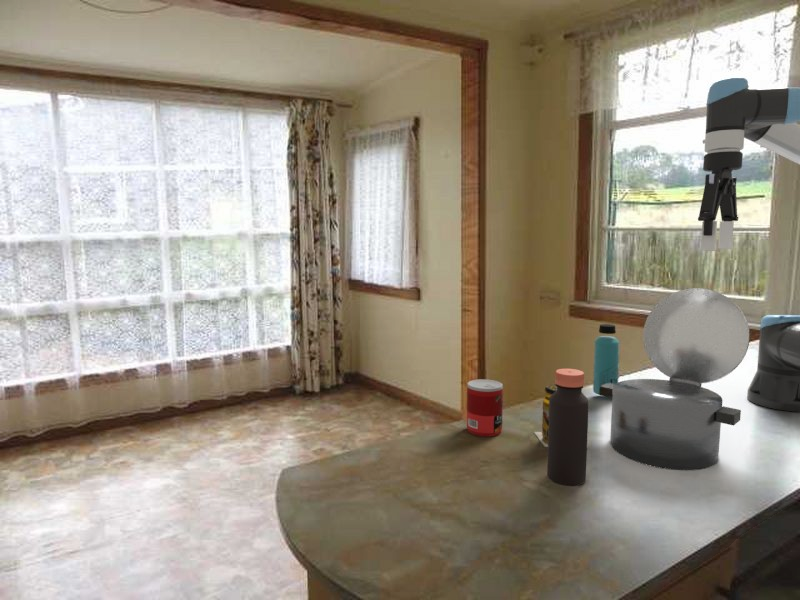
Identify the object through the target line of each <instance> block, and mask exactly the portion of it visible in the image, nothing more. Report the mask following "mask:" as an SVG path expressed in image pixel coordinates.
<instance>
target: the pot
mask: <svg viewBox="0 0 800 600" xmlns="http://www.w3.org/2000/svg"><path fill="white" fill-rule="evenodd" d="M598 396H601V397H602V396H603V397H605V398H606V397H607V398H609V399H611V415H610V416H611V418H610V436H609V437H610V439H609V440H610V441H609V442H610V443H609V444H610V446H611V448H612V449H613V451H615V452H616V453H618V454H620V456H623V457H625V458H627V459H628V460H631V461H634V462H636V463H639V462H640V464H642V463H643V464H642V465H646V464H647V465H646V466H649V465H651V467H654V466H655V467H654V468H659V467H660V468H659V469H664V468H665V469H666V470H674V471H675V470H676V471H697V470H703V469H707V468H711V467H713V466H714V465H716V464H717V463H719V462H718V461H719V453H720V440H721V438H720V437H721V427H722V424H725V425H731V426H733V427H734V426H735V425H736V424H737V423H739V422H740V421H741V415H742V414H741V413H742V410H741V409H737V408H734V407H729V406H728V407H727V406H723V398H722V396H721V395H719V393H717V392H715V391H713V390H710V389H708V388H707V387H702V386H701V387H700V386H696V385H692V384H687V383H682V382H676V381H669V380H668V379H667V380H666V379H658V378H657V379H654V378H637V379H636V378H635V379H627V380H625V379H624V380H621V381H618V383H616V384H612V383H606V384H604V385H601V386H600V389H599V394H598Z"/></svg>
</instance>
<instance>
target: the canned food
mask: <svg viewBox="0 0 800 600" xmlns="http://www.w3.org/2000/svg"><path fill="white" fill-rule="evenodd" d="M466 384H467V385H466V386H467V387H466V429H467V431H468V433H470V434H472V435H475V436H478V437H487V438H488V437H496V436H498V435H500V434H501V433H502V430H503V411H504V409H503V407H504V406H503V405H504V403H503V402H504V400H503V399H504V398H503V397H504V387H503V383H502V382H500V381H497V380H495V379H494V380H493V379H482V378H479V379H473V380H470V381H468V382H467V383H466Z"/></svg>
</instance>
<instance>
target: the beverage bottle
mask: <svg viewBox="0 0 800 600" xmlns="http://www.w3.org/2000/svg"><path fill="white" fill-rule="evenodd" d="M598 333H600V334H606V335H600V336H598V337H597V338H596V339H595V340H594V355H593V356H594V357H593V358H594V359H593V360H594V361H593V372H592V373H593V375H592V376H593V377H592V378H593V380H592V391H593V393H594V394H596V395H599V389H600V386H601V385H604V384H606V383H612V384H616V383H618V382H619V379H620V377H619V375H620V374H619V371H620V370H619V368H620V367H619V365H620V342H621V341H619V339H617V338H616V337H615V336H609V335H610V334H611V335H613V334H616V333H617V332H616V325H615V324H609V323H602V324H600V325H599V329H598Z"/></svg>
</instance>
